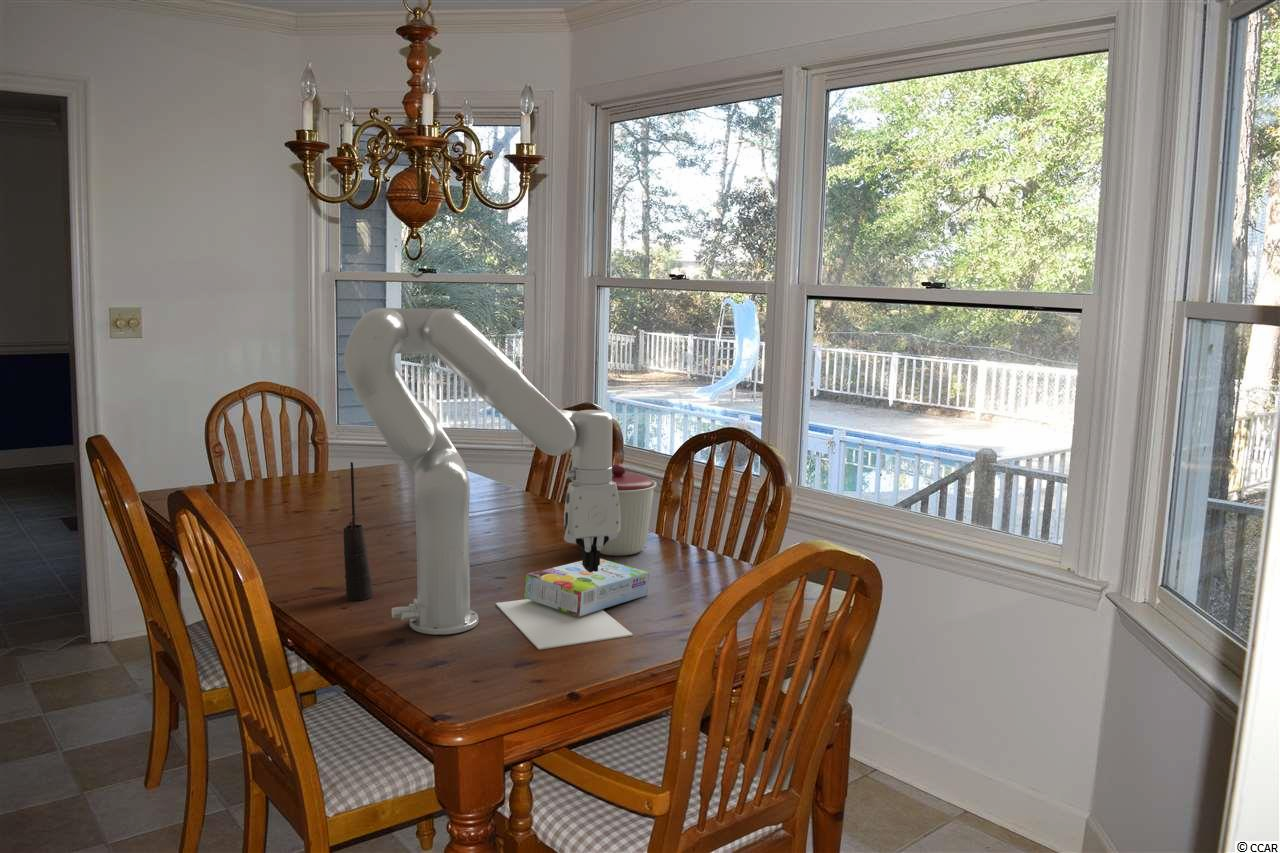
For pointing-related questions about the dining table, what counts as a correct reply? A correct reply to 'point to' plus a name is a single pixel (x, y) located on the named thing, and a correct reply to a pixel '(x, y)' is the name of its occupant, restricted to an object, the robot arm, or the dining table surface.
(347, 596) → the butter churn
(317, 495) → the dining table surface
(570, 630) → the mat
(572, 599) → the snack box
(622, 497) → the canister
